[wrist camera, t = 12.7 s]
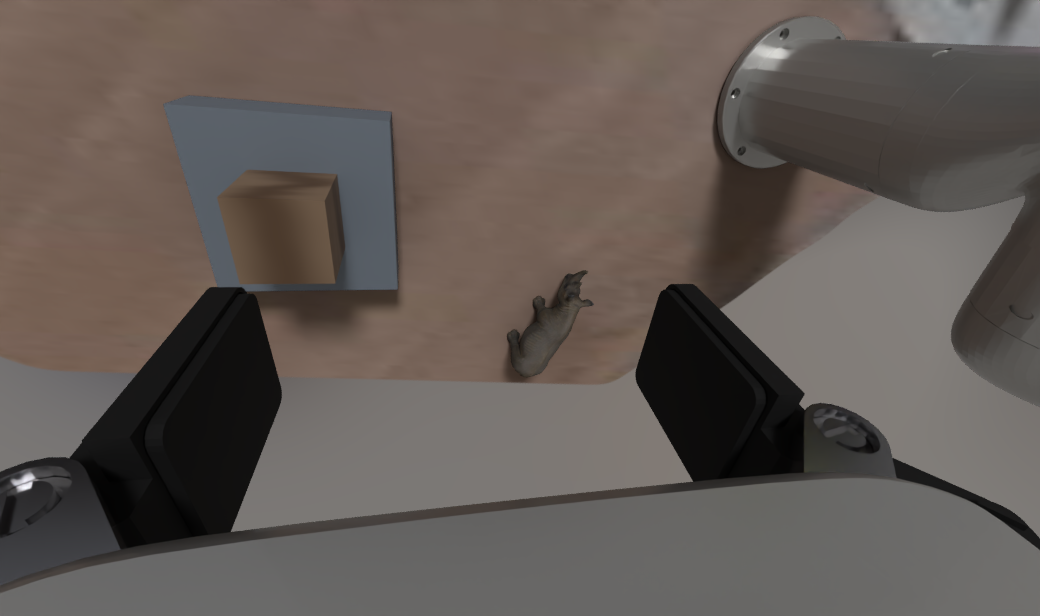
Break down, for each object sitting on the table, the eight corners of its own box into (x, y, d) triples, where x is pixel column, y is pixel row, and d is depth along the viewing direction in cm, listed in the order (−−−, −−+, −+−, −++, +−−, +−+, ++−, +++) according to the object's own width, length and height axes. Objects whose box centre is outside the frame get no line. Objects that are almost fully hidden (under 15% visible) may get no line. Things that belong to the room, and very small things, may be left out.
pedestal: (391, 111, 34) (389, 121, 31) (398, 268, 42) (397, 289, 39) (188, 95, 31) (163, 103, 28) (235, 268, 39) (219, 291, 35)
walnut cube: (337, 174, 32) (324, 200, 27) (345, 247, 36) (335, 283, 31) (246, 169, 31) (216, 197, 26) (264, 246, 34) (239, 284, 29)
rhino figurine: (594, 266, 47) (615, 295, 42) (524, 358, 52) (537, 393, 47) (564, 250, 45) (583, 278, 40) (495, 347, 50) (505, 382, 45)
